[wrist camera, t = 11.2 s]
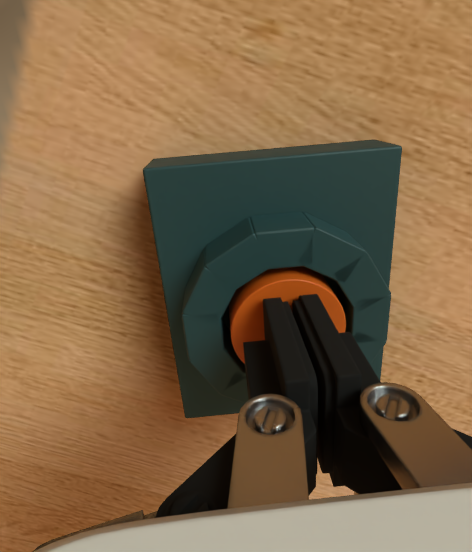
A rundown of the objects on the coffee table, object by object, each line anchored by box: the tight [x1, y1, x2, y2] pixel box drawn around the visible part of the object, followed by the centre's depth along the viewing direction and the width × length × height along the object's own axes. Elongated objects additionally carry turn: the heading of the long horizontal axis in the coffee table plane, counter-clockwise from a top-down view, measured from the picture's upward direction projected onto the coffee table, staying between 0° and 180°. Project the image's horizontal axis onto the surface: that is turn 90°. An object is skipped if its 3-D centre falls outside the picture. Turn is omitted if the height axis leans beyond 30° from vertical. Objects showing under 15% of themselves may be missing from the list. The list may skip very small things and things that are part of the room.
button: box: [229, 266, 346, 364], centre depth 13 cm, size 4×4×2 cm
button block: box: [143, 140, 402, 418], centre depth 14 cm, size 10×8×4 cm
